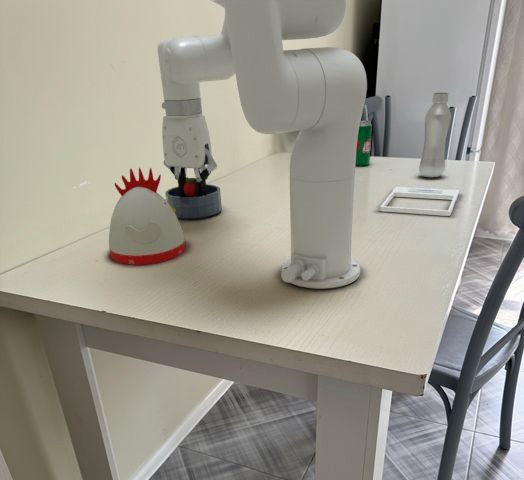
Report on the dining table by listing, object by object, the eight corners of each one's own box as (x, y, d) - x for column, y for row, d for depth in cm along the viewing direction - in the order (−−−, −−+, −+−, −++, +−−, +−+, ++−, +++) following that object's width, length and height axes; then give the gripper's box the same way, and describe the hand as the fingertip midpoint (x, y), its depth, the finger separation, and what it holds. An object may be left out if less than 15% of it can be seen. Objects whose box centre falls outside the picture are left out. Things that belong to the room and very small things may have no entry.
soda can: (365, 167, 150) (367, 122, 143) (349, 165, 152) (351, 122, 146) (372, 163, 153) (374, 120, 147) (356, 162, 156) (358, 119, 149)
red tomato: (195, 201, 113) (193, 182, 110) (180, 199, 114) (178, 180, 112) (205, 197, 116) (203, 177, 113) (191, 195, 117) (189, 176, 115)
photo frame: (459, 189, 119) (450, 210, 105) (458, 194, 119) (450, 216, 105) (396, 185, 124) (379, 205, 110) (395, 190, 125) (379, 211, 111)
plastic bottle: (446, 175, 137) (458, 92, 126) (439, 180, 132) (450, 94, 121) (422, 173, 140) (431, 91, 129) (414, 178, 135) (423, 94, 124)
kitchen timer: (186, 260, 91) (175, 173, 83) (108, 268, 89) (89, 180, 82) (184, 235, 103) (174, 157, 95) (114, 242, 101) (98, 163, 93)
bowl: (201, 223, 109) (198, 199, 107) (157, 217, 115) (154, 194, 112) (232, 208, 118) (230, 186, 116) (190, 203, 124) (187, 182, 121)
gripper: (140, 110, 106) (154, 198, 116) (205, 111, 99) (214, 206, 108) (163, 106, 112) (174, 190, 121) (227, 107, 104) (233, 197, 114)
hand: (193, 197), depth 115 cm, fingers closed on red tomato, 3 cm apart
